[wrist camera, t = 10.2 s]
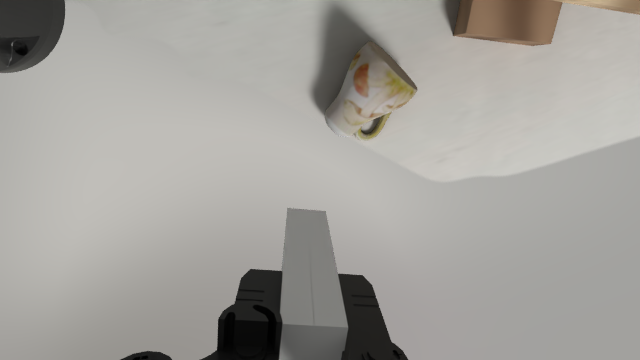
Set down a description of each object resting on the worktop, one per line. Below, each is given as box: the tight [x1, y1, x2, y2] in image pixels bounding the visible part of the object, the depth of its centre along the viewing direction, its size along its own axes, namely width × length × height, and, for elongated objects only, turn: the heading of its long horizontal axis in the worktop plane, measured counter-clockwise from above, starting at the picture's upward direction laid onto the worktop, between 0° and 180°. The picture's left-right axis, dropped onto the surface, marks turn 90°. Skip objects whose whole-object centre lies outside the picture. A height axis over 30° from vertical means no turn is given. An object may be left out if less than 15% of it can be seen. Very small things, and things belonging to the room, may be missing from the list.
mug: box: [325, 41, 417, 141], centre depth 37 cm, size 8×10×10 cm
